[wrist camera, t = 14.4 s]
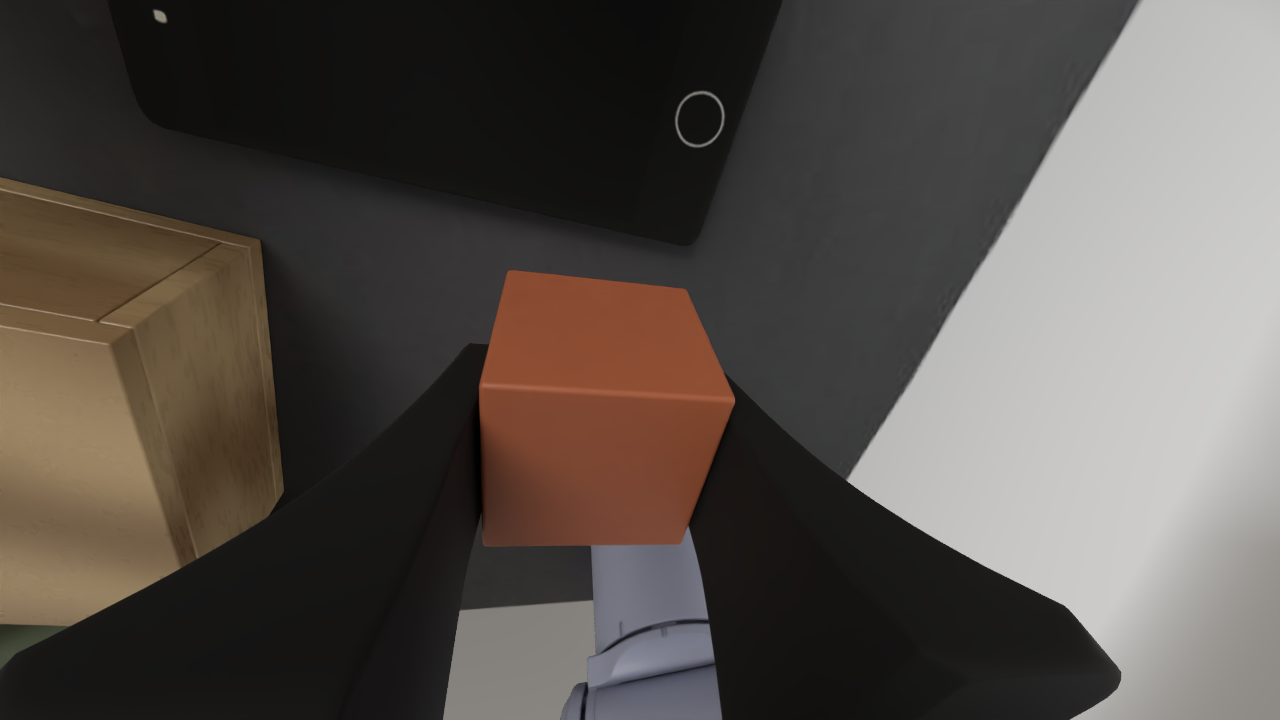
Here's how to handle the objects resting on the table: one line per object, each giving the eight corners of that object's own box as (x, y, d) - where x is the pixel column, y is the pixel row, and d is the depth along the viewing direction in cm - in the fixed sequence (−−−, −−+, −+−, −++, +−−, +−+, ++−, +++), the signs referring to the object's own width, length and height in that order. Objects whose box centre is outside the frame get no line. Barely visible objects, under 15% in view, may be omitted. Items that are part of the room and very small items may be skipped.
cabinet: (284, 491, 25) (199, 630, 19) (-36, 457, 21) (-261, 617, 15) (261, 239, 17) (109, 344, 12) (-244, 117, 14) (-832, 184, 8)
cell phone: (690, 240, 19) (695, 249, 19) (162, 118, 15) (139, 124, 14) (782, -25, 15) (794, -28, 14) (43, -328, 10) (0, -358, 9)
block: (654, 416, 13) (682, 546, 10) (504, 409, 12) (481, 548, 9) (687, 287, 11) (738, 399, 7) (507, 267, 10) (477, 384, 7)
